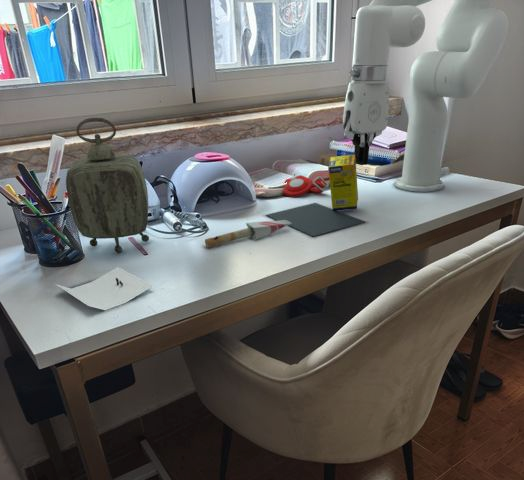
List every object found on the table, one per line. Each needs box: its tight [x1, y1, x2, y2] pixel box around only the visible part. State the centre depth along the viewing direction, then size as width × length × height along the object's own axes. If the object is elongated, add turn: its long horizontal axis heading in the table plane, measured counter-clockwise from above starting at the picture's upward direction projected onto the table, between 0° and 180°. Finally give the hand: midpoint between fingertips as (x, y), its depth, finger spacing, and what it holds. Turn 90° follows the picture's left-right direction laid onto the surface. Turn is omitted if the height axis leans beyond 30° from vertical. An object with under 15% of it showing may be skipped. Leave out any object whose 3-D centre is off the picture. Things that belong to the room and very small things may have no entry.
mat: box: [265, 202, 366, 238], centre depth 116 cm, size 15×18×1 cm
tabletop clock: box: [65, 117, 150, 254], centre depth 96 cm, size 14×9×25 cm, turn 100°
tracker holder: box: [281, 174, 330, 198], centre depth 133 cm, size 12×4×10 cm
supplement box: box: [327, 154, 359, 212], centre depth 117 cm, size 6×6×11 cm
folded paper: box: [55, 266, 154, 311], centre depth 86 cm, size 12×12×2 cm
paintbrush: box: [204, 220, 292, 249], centre depth 106 cm, size 4×3×20 cm
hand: (360, 163), depth 117 cm, fingers closed
